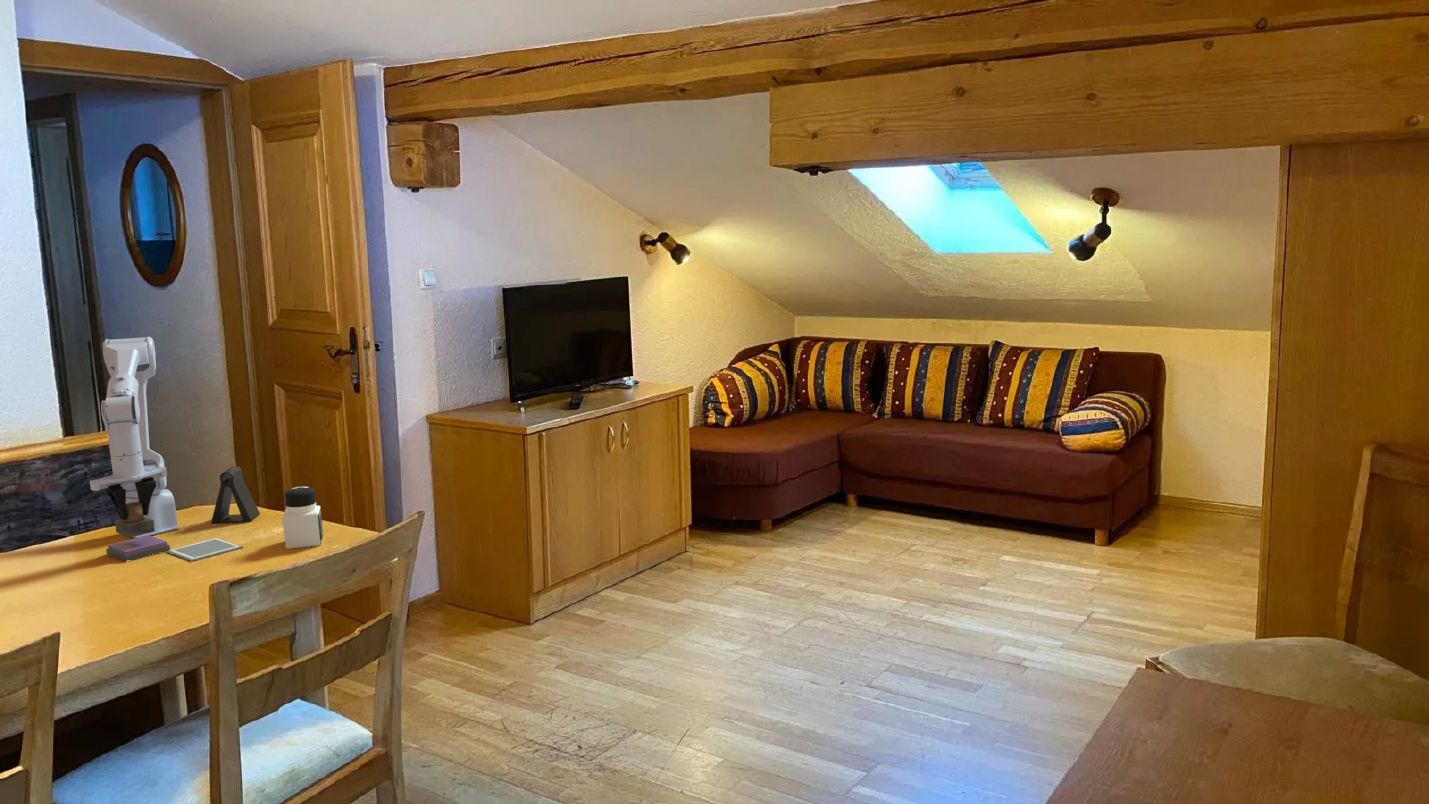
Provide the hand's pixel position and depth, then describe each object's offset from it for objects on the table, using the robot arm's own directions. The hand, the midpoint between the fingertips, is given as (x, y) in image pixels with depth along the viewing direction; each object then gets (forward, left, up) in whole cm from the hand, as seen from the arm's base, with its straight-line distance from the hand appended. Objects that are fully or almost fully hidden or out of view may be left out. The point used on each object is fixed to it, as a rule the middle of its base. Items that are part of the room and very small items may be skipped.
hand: (134, 516), depth 225 cm
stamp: (0, 0, -3) cm, 3 cm away
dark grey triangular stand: (-25, -7, -8) cm, 27 cm away
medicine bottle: (-24, +24, -8) cm, 35 cm away
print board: (-9, +10, -8) cm, 16 cm away
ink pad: (0, 0, -8) cm, 8 cm away
